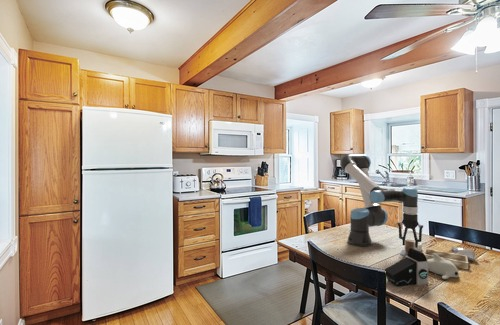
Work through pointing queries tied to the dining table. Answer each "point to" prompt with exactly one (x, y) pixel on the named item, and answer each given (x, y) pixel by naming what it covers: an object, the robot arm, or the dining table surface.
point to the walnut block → (409, 244)
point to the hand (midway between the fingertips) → (410, 251)
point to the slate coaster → (404, 253)
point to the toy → (442, 267)
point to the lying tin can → (464, 252)
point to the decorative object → (409, 270)
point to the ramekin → (419, 247)
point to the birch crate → (448, 257)
